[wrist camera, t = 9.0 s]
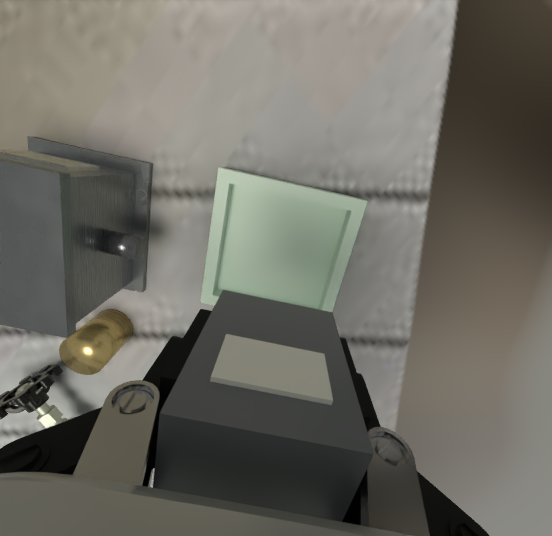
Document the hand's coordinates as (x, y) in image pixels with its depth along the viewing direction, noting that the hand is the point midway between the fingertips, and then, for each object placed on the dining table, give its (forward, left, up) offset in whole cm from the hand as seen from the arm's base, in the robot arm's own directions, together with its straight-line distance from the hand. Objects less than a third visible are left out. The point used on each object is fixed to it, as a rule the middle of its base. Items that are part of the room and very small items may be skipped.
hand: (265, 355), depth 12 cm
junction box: (-1, +17, -16) cm, 23 cm away
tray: (0, 0, -16) cm, 16 cm away
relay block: (0, 0, -1) cm, 1 cm away
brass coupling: (-12, +15, -16) cm, 25 cm away
